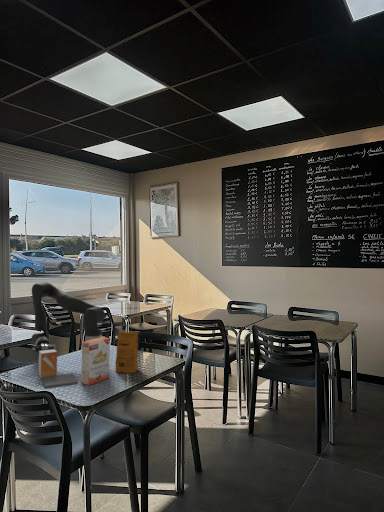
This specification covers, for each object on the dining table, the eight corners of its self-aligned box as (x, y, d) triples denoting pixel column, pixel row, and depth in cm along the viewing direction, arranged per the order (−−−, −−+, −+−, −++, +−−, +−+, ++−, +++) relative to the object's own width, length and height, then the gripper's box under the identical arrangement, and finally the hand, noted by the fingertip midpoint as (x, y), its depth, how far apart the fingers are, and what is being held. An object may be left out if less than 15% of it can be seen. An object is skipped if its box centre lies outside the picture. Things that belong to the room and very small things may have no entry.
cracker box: (89, 386, 177) (89, 343, 177) (80, 383, 180) (81, 341, 180) (109, 378, 189) (110, 337, 189) (101, 376, 192) (102, 336, 192)
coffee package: (118, 367, 207) (119, 329, 207) (140, 368, 206) (140, 329, 206) (112, 373, 197) (113, 332, 197) (135, 374, 196) (135, 333, 196)
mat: (72, 375, 193) (72, 373, 193) (77, 383, 181) (77, 381, 181) (42, 379, 187) (42, 377, 187) (44, 388, 174) (45, 386, 174)
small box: (40, 378, 187) (41, 353, 187) (38, 375, 192) (38, 350, 192) (57, 376, 192) (57, 351, 192) (54, 372, 197) (54, 348, 197)
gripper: (30, 339, 213) (32, 345, 198) (54, 337, 219) (58, 343, 204) (30, 351, 213) (32, 359, 198) (54, 349, 219) (58, 356, 204)
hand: (45, 351), depth 201 cm, fingers closed
